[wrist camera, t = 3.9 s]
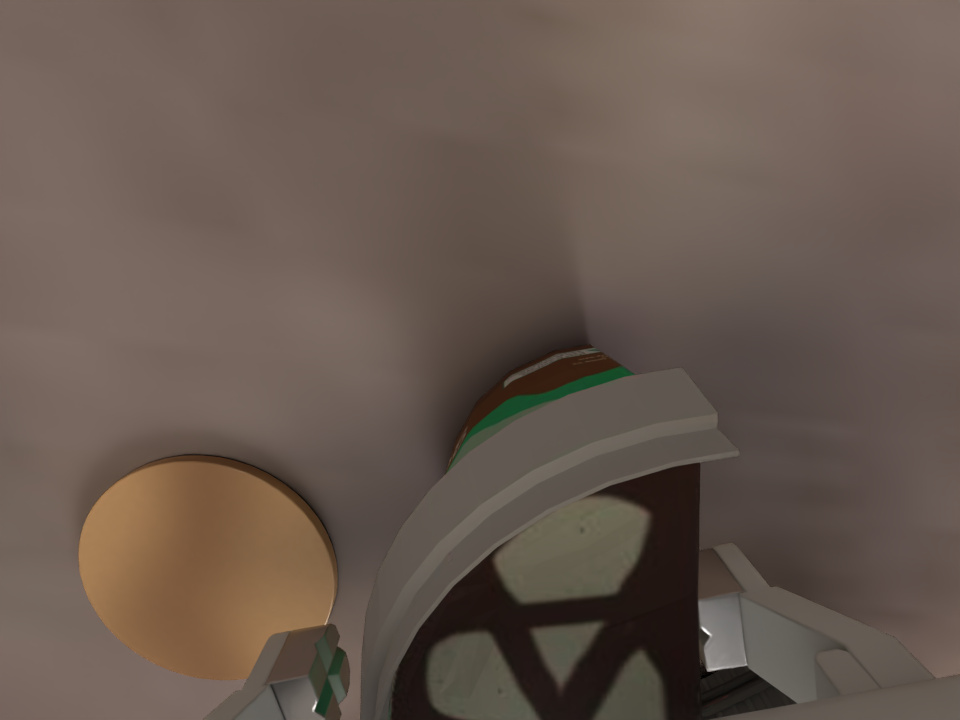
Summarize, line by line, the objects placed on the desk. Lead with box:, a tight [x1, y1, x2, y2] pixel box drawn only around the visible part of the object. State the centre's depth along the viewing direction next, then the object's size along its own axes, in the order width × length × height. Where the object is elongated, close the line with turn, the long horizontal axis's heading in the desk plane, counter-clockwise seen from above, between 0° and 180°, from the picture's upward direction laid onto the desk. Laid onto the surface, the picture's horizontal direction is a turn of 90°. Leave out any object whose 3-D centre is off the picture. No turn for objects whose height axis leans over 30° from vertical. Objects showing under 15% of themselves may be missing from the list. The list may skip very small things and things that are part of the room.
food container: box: [360, 344, 739, 720], centre depth 13 cm, size 12×6×10 cm, turn 5°
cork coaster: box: [78, 455, 338, 680], centre depth 19 cm, size 9×9×1 cm
